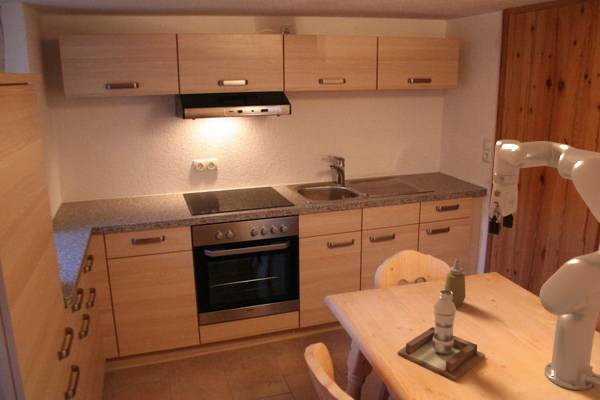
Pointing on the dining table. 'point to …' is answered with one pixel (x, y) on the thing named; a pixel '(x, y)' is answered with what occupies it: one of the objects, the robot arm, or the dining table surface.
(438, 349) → the plastic bottle
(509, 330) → the dining table surface
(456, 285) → the squeeze bottle
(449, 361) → the tray
